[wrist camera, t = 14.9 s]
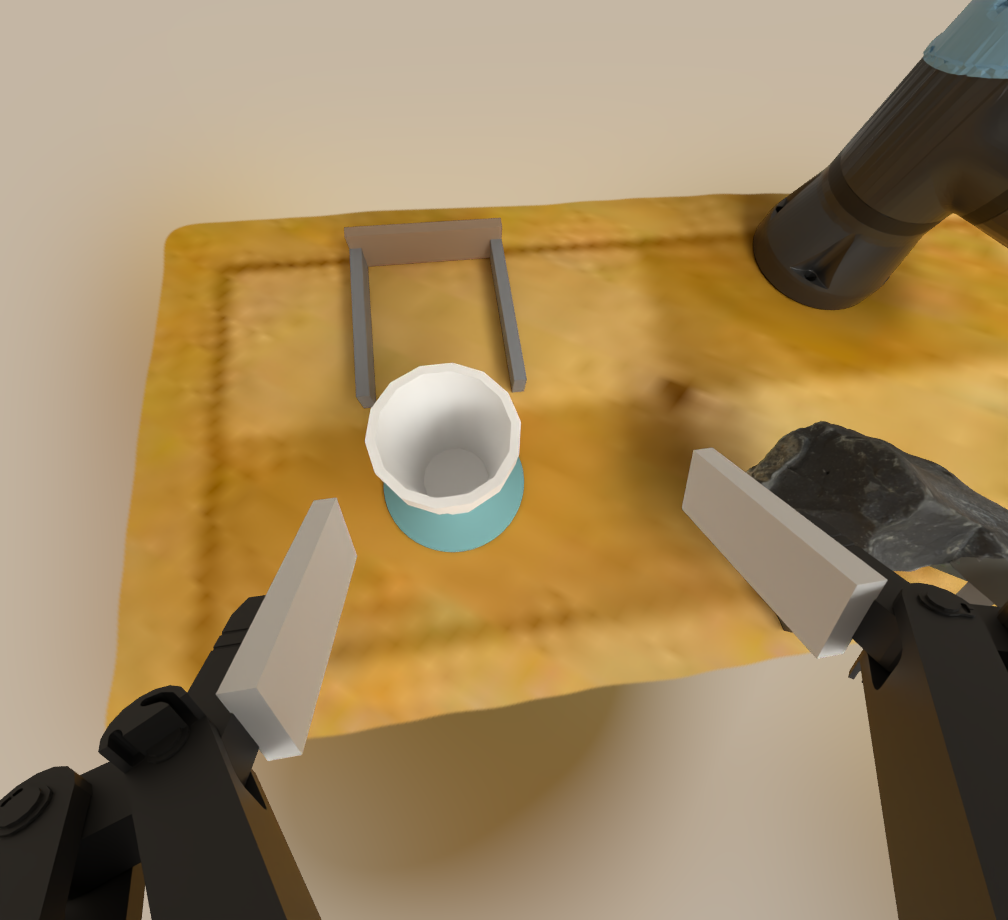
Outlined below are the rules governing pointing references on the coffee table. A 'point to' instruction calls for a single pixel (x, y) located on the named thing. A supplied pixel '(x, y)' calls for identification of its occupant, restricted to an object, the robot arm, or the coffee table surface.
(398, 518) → the teal mat
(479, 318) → the coffee table surface
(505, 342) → the cup lane
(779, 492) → the grey rock
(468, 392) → the foam cup
